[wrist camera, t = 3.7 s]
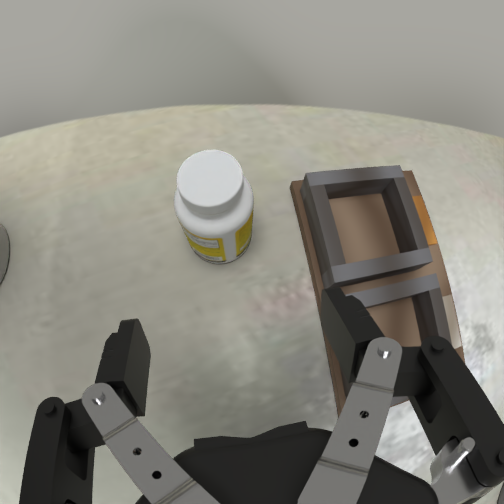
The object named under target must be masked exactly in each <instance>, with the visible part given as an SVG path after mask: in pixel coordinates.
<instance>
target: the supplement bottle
mask: <svg viewBox="0 0 504 504" xmlns="http://www.w3.org/2000/svg"><path fill="white" fill-rule="evenodd" d="M253 205H254V199H253V191H252V188H251V185H250V184H249V182H248V180H247V179H246V177H245V176H244V175H243V171H242V168H241V165H240V164H239V162H238V161H237V160H236V159H235V158H234V157H233V156H232V155H230V154H228V153H226V152H224V151H220V150H204V151H200V152H197V153H195V154H193V155H191V156H190V157H188V158H187V159H186V160H185V161H184V162H183V164H182V165H181V166H180V168H179V171H178V174H177V189H176V192H175V196H174V208H175V212H176V215H177V218H178V220H179V222H180V224H181V226H182V228H183V231H184V233H185V235H186V237H187V239H188V241H189V243H190V245H191V247H192V249H193V250H194V252H195V253H196V254H197V255H198V256H199V257H201V258H202V259H204V260H206V261H208V262H211V263H217V264H222V263H228V262H231V261H233V260H235V259H237V258H238V257H240V256H241V255H242V254H243V253H244V252H245V250H246V249H247V247H248V246H249V243H250V240H251V234H252V218H253Z"/></svg>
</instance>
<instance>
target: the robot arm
mask: <svg viewBox="0 0 504 504" xmlns="http://www.w3.org/2000/svg"><path fill="white" fill-rule="evenodd" d="M8 259H9V240H8V235H7V233H6V230H5V229H4V227H3V226H2V225H1V224H0V283H1V281H2V279H3V277H4V274H5V272H6V268H7V264H8ZM321 324H322V328H323V330H324V332H325V335H326V337H327V339H328V341H329V343H330V345H331V347H332V349H333V351H334V353H335V355H336V357H337V359H338V362H339V364H340V366H341V368H342V370H343V372H344V374H345V376H346V378H347V380H348V383H351V382H353V384H352V387H351V389H350V392H349V394H348V397H347V399H346V402H345V404H344V407H343V409H342V412H341V414H340V416H339V419H338V421H337V423H336V426H335V428H334V430H333V432H331V431H328V430H324V429H318V428H308V427H307V423H306V421H303V422H298V423H294V424H289V425H285V426H280V427H277V428H274V429H272V430H270V431H267V432H265V433H263V434H260V435H258V436H255V437H252V438H240V437H226V436H218V437H209V438H200V439H194V447H192V448H189V449H187V450H185V451H183V452H181V453H180V454H178V455H177V456H176V457H174V458H173V459H172V458H171V457H170V456H169V454H168V453H167V452H166V451H165V450H164V449H163V448H162V447H161V446H160V445H159V444H158V442H157V441H156V440H155V439H154V438H153V437H152V436H151V434H150V433H149V432H148V431H147V430H146V429H145V427H144V426H143V425H142V424H141V423H140V422H139V420H138V419H137V418H136V417H138V416H145V407H146V396H147V385H148V376H149V367H150V358H151V354H150V347H149V344H148V341H147V339H146V336H145V334H144V331H143V329H142V326H141V324H140V321H139V320H138V319H129V320H122V321H121V322H120V325H119V329H118V332H117V333H112V334H111V335H110V337H109V338H108V339H107V340H106V342H105V346H104V350H103V351H104V352H103V353H102V357H101V358H102V359H101V361H100V365H99V368H98V372H97V376H96V380H95V384H93V385H91V386H90V387H88V388H87V389H86V390H85V392H84V393H83V396H82V399H79V400H76V401H73V402H69V403H66V404H65V403H64V402H63V401H62V400H61V399H60V398H58V397H50V398H47V399H45V400H44V401H42V402H41V404H40V405H39V406H38V409H37V412H36V416H35V420H34V424H33V428H32V432H31V437H30V441H29V446H28V451H27V456H26V461H25V467H24V473H23V479H22V486H21V493H20V501H19V504H92V489H93V469H94V455H95V447H98V446H101V445H105V444H106V445H107V446H108V448H109V449H110V451H111V452H112V453H113V455H114V456H115V458H116V459H117V460H118V462H119V463H120V465H121V466H122V467H123V469H124V470H125V471H126V473H127V474H128V475H129V477H130V478H131V479H132V481H133V482H134V483H135V484H136V486H137V487H138V488H139V489H140V491H141V492H142V493H143V495H142V496H141V497H140V499H139V500H138V501H137V502H136V503H135V504H473V503H474V502H476V501H477V500H479V499H480V498H481V497H483V496H484V495H486V494H487V493H488V492H490V491H491V490H492V489H493V488H495V487H496V486H497V485H499V484H500V483H501V482H502V481H504V424H503V422H502V421H501V419H500V417H499V416H498V414H497V412H496V411H495V409H494V408H493V406H492V404H491V403H490V401H489V400H488V398H487V396H486V395H485V393H484V392H483V390H482V389H481V387H480V386H479V384H478V382H477V381H476V379H475V378H474V376H473V375H472V373H471V372H470V370H469V369H468V368H467V366H466V365H465V363H464V362H463V360H462V359H461V357H460V356H459V355H458V353H457V352H456V350H455V349H454V347H453V346H452V345H451V343H450V342H449V341H448V340H447V339H445V338H443V337H440V336H429V337H427V338H425V339H424V340H423V341H422V343H421V346H413V347H403V346H401V345H400V344H399V343H398V342H397V341H395V340H394V339H391V338H387V337H385V336H384V334H383V333H382V331H381V330H380V328H379V327H378V325H377V324H376V322H375V321H374V319H373V318H372V316H370V313H369V312H368V311H367V310H366V308H365V306H364V305H363V303H362V302H361V301H360V300H359V299H357V298H356V297H354V296H353V295H349V296H346V295H345V294H344V292H343V291H342V289H341V288H340V287H339V286H337V287H332V288H327V289H322V292H321ZM401 396H408V398H409V400H410V402H411V404H412V406H413V408H414V410H415V412H416V414H417V417H418V419H419V421H420V423H421V425H422V427H423V429H424V431H425V433H426V435H427V438H428V440H429V442H430V444H431V446H432V448H433V451H434V453H435V455H436V457H435V458H434V459H433V461H432V463H431V466H430V472H431V476H432V481H431V485H429V484H428V483H427V482H426V481H424V480H423V479H421V478H419V477H416V476H414V475H412V474H410V473H408V472H406V471H404V470H402V469H400V468H398V467H396V466H394V465H392V464H391V463H389V462H387V461H385V460H383V459H381V458H379V457H377V456H375V452H376V449H377V446H378V443H379V440H380V437H381V434H382V431H383V428H384V425H385V421H386V418H387V415H388V411H389V408H390V404H391V400H392V397H401Z"/></svg>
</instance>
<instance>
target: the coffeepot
mask: <svg viewBox="0 0 504 504" xmlns="http://www.w3.org/2000/svg"><path fill="white" fill-rule="evenodd" d="M498 504H504V484H503V486H502V489H501V491H500V495H499V499H498Z"/></svg>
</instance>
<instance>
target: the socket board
mask: <svg viewBox="0 0 504 504" xmlns="http://www.w3.org/2000/svg"><path fill="white" fill-rule="evenodd" d="M290 190H291V194H292V198H293V202H294V206H295V210H296V214H297V218H298V222H299V226H300V230H301V234H302V238H303V242H304V247H305V251H306V255H307V260H308V264H309V268H310V273H311V277H312V282H313V286H314V291H315V296H316V300H317V305H318V310H319V314H320V319H321V292H322V289H327V288H332V287H337V286H339V287H340V288H341V289H342V291H343V292H344V294H345V295H346V296H349V295H353V296H354V297H356V298H357V299H359V300H360V301H361V302H362V303H363V305H364V306H365V308H366V310H367V311H368V312H369V313H370V316H372V318H373V319H374V321H375V322H376V324H377V325H378V327H379V328H380V330H381V331H382V333H383V334H384V336H385V337H387V338H391V339H394V340H395V341H397V342H398V343H399V344H400V345H401V346H403V347H413V346H421V343H422V341H423V340H424V339H425V338H427V337H429V336H440V337H443V338H445V339H447V340H448V341H449V342H450V343H451V345H452V346H453V347H454V349H455V350H456V352H457V353H458V355H459V356H460V357H461V359H462V360H463V362H464V363H465V359H464V353H463V346H462V341H461V335H460V330H459V324H458V319H457V315H456V310H455V305H454V301H453V297H452V292H451V288H450V284H449V280H448V277H447V273H446V269H445V265H444V262H443V258H442V255H441V252H440V248H439V245H438V242H437V238H436V235H435V232H434V229H433V226H432V223H431V220H430V217H429V214H428V212H427V209H426V206H425V203H424V201H423V198H422V195H421V193H420V190H419V187H418V185H417V182H416V180H415V177H414V175H413V172H412V171H402V170H401V167H400V165H398V166H382V167H367V168H355V169H343V170H332V171H322V172H312V173H306V175H305V177H304V180H299V181H292V182H291V186H290ZM322 329H323V328H322ZM323 334H324V339H325V344H326V349H327V355H328V360H329V365H330V370H331V376H332V381H333V387H334V393H335V399H336V404H337V410H338V416H340V414H341V412H342V409H343V407H344V404H345V402H346V399H347V397H348V394H349V392H350V389H351V387H352V384H353V382H351V383H348V380H347V378H346V376H345V374H344V372H343V370H342V368H341V366H340V364H339V362H338V359H337V357H336V355H335V353H334V351H333V349H332V347H331V345H330V343H329V341H328V339H327V337H326V335H325V332H324V330H323ZM408 400H409V398H408V396H401V397H392V400H391V404H390V407H392V406H395V405H398V404H401V403H403V402H406V401H408Z"/></svg>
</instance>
